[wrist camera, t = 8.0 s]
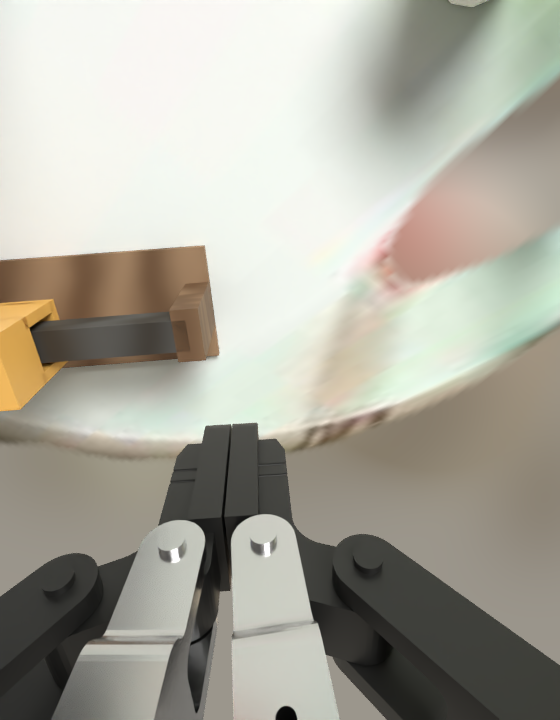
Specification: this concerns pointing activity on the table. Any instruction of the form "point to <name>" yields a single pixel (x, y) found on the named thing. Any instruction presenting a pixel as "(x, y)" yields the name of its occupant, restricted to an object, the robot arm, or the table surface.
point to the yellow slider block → (23, 352)
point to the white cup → (467, 2)
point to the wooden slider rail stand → (118, 305)
